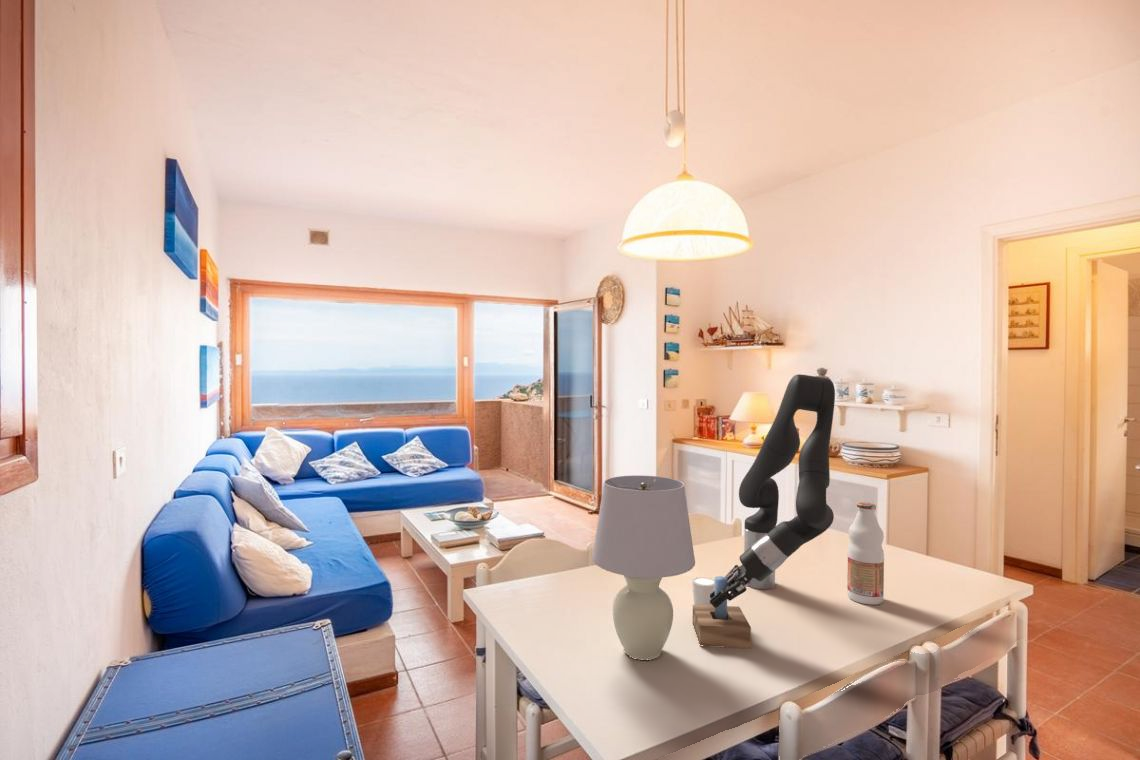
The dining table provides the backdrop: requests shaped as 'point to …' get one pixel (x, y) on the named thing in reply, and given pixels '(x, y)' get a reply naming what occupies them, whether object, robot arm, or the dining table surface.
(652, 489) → the lamp
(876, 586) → the fruit juice
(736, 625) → the hole block
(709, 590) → the white cup
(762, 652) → the dining table surface
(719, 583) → the peg
